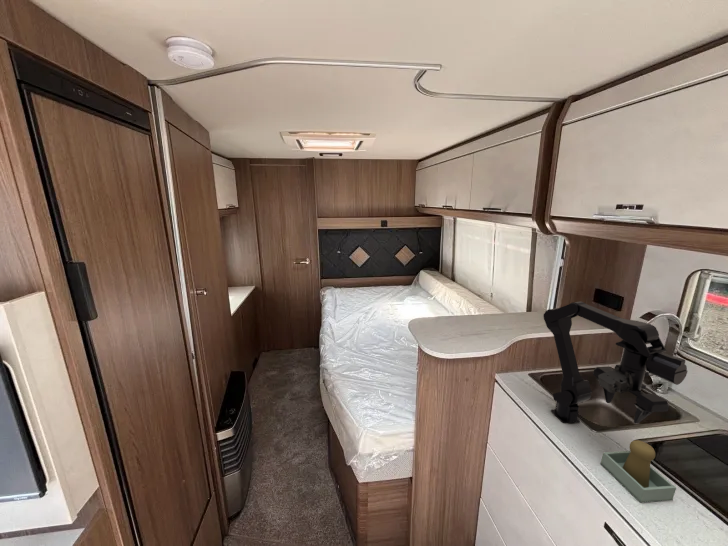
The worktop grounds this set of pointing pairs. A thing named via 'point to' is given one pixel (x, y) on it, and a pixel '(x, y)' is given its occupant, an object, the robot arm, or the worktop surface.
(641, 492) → the tray
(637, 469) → the cork
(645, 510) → the worktop surface
